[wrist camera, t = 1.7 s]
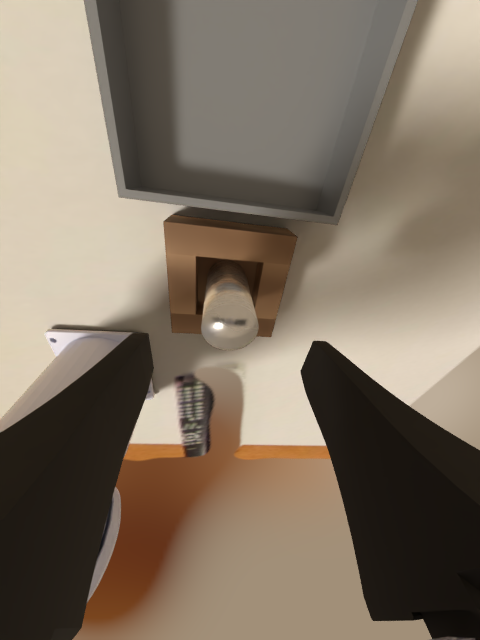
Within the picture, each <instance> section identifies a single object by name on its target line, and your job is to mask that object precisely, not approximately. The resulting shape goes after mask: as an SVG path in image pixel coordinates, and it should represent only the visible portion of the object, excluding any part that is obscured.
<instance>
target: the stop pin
mask: <svg viewBox="0 0 480 640" xmlns="http://www.w3.org/2000/svg"><path fill="white" fill-rule="evenodd" d="M258 328H259V325H258V320H257V316H256V312H255V309H254V305H253V301H252V297H251V293H250V290H249V286H248V282H247V278H246V274H245V271H244V269H243V268H242V266H241V265H240V264H238V263H237V262H235V261H232V260H221V261H218V262H216V263H215V264H213V265H212V266H211V268H210V269H209V271H208V275H207V283H206V291H205V300H204V308H203V316H202V325H201V331H202V335H203V337H204V339H205V340H206V341H207V342H208V343H209V344H210V345H211V346H213V347H215V348H218V349H221V350H237V349H240V348H243V347H245V346H247V345H248V344H250V343H251V342H252V341H253V340H254V339H255V337H256V335H257V333H258Z"/></svg>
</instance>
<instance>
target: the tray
mask: <svg viewBox="0 0 480 640" xmlns="http://www.w3.org/2000/svg"><path fill="white" fill-rule="evenodd" d="M417 2H418V0H84V4H85V10H86V15H87V21H88V27H89V32H90V38H91V44H92V49H93V55H94V61H95V66H96V72H97V77H98V83H99V89H100V94H101V100H102V106H103V111H104V117H105V123H106V128H107V134H108V140H109V145H110V151H111V157H112V162H113V168H114V173H115V179H116V185H117V190H118V196H119V197H120V198H128V199H136V200H144V201H152V202H160V203H167V204H175V205H183V206H191V207H199V208H207V209H215V210H223V211H231V212H238V213H246V214H254V215H262V216H270V217H278V218H286V219H294V220H302V221H309V222H317V223H325V224H333V225H338V222H339V219H340V217H341V214H342V211H343V208H344V205H345V203H346V200H347V197H348V194H349V191H350V189H351V186H352V183H353V180H354V177H355V175H356V172H357V169H358V166H359V164H360V161H361V158H362V155H363V152H364V150H365V147H366V144H367V141H368V138H369V136H370V133H371V130H372V127H373V124H374V122H375V119H376V116H377V113H378V110H379V108H380V105H381V102H382V99H383V96H384V94H385V91H386V88H387V85H388V83H389V80H390V77H391V74H392V71H393V69H394V66H395V63H396V60H397V57H398V55H399V52H400V49H401V46H402V43H403V41H404V38H405V35H406V32H407V29H408V27H409V24H410V21H411V18H412V15H413V13H414V10H415V7H416V4H417Z"/></svg>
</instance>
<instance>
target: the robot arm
mask: <svg viewBox="0 0 480 640" xmlns="http://www.w3.org/2000/svg"><path fill="white" fill-rule="evenodd" d="M44 334H45V337H46V339H47V341H48V342H49V344H50V346H51V348H52V350H53V352H54V354H55V356H56V358H55V359H54V360H53V361H52V362H51V363H50V365H49V366H48V367H47V368H46V369H45V370H44V371H43V372H42V373H41V375H40V376H39V377H38V378H37V379H36V380H35V381H34V382H33V384H32V385H31V386H30V387H29V388H28V389H27V390H26V391H25V392H24V394H23V395H22V396H21V397H20V398H19V399H18V400H17V401H16V402H15V404H14V405H13V406H12V407H11V408H10V409H9V410H8V411H7V413H6V414H5V415H4V416H3V417H2V418H1V419H0V640H72V639H73V638H74V637H75V635H76V634H77V633H78V631H79V630H80V629H81V627H82V622H83V618H84V613H85V609H86V604H87V602H88V601H89V599H90V598H91V596H92V594H93V593H94V591H95V589H96V588H97V586H98V584H99V582H100V580H101V578H102V576H103V574H104V572H105V570H106V568H107V565H108V563H109V560H110V558H111V555H112V552H113V549H114V546H115V543H116V539H117V535H118V531H119V526H120V517H121V501H120V494H119V491H118V490H117V488H116V487H115V486H116V482H117V479H118V475H119V471H120V468H121V464H122V461H123V458H124V456H125V454H126V452H127V449H128V446H129V443H130V440H131V437H132V434H133V431H134V428H135V425H136V422H137V419H138V417H139V414H140V411H141V409H142V406H143V403H144V401H145V400H150V399H153V398H154V389H153V384H152V373H153V369H154V367H153V361H152V354H151V348H150V342H149V335H148V333H134V332H111V331H88V330H65V329H48V330H47V331H46V332H45V333H44ZM55 339H56V340H55ZM301 376H302V380H303V384H304V388H305V391H306V394H307V397H308V400H309V402H310V405H311V407H312V410H313V412H314V415H315V417H316V420H317V422H318V425H319V427H320V430H321V432H322V435H323V437H324V440H325V442H326V445H327V448H328V451H329V454H330V457H331V460H332V464H333V467H334V471H335V474H336V477H337V481H338V485H339V488H340V492H341V495H342V499H343V503H344V507H345V511H346V515H347V520H348V524H349V527H350V532H351V536H352V540H353V545H354V550H355V555H356V560H357V564H358V569H359V574H360V579H361V584H362V589H363V594H364V599H365V601H366V604H367V607H368V610H369V613H370V616H371V618H372V620H373V621H396V620H397V621H400V620H401V621H403V620H419V619H423V620H424V622H425V624H426V626H427V628H428V630H429V633H430V635H431V637H432V639H431V640H480V450H478V449H476V448H475V447H473V446H471V445H469V444H468V443H466V442H464V441H462V440H461V439H459V438H458V437H456V436H454V435H453V434H451V433H449V432H448V431H446V430H444V429H443V428H441V427H440V426H438V425H437V424H435V423H433V422H432V421H430V420H429V419H427V418H426V417H424V416H423V415H421V414H420V413H418V412H417V411H415V410H414V409H412V408H411V407H409V406H408V405H407V404H405V403H404V402H402V401H401V400H400V399H398V398H397V397H395V396H394V395H393V394H391V393H390V392H389V391H387V390H386V389H385V388H383V387H382V386H381V385H379V384H378V383H377V382H376V381H374V380H373V379H372V378H371V377H369V376H368V375H367V374H366V373H364V372H363V371H362V370H361V369H359V368H358V367H357V366H356V365H355V364H353V363H352V362H351V361H350V360H349V359H347V358H346V357H345V356H344V355H343V354H341V353H340V352H339V351H338V350H336V349H335V348H334V347H333V346H331V345H330V344H329V343H327V342H326V341H313V343H312V345H311V348H310V350H309V352H308V355H307V357H306V360H305V362H304V364H303V367H302V369H301Z"/></svg>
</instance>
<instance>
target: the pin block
mask: <svg viewBox="0 0 480 640" xmlns="http://www.w3.org/2000/svg"><path fill="white" fill-rule="evenodd" d="M164 235H165V248H166V261H167V274H168V287H169V300H170V313H171V326H172V333H194V334H202V331H201V325H202V316H203V308H204V300H205V291H206V283H207V275H208V271H209V269H210V268H211V266H212V265H213V264H215V263H216V262H218V261H221V260H232V261H235V262H237V263H238V264H240V265H241V266H242V268H243V269H244V271H245V274H246V278H247V282H248V286H249V290H250V293H251V297H252V301H253V305H254V309H255V312H256V316H257V320H258V325H259V328H258V333H257V335H256V336H261V337H271V335H272V331H273V328H274V324H275V320H276V316H277V313H278V309H279V305H280V301H281V298H282V294H283V290H284V286H285V283H286V279H287V275H288V271H289V268H290V264H291V260H292V256H293V253H294V249H295V245H296V241H297V238H298V237H297V236H296V235H294V234H293V233H292V232H291V231H289V230H288V229H287V228H278V227H270V226H262V225H253V224H245V223H237V222H228V221H220V220H212V219H203V218H195V217H187V216H178V215H171V216H170V217H168V218H167V219H166V220H165V221H164Z"/></svg>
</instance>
